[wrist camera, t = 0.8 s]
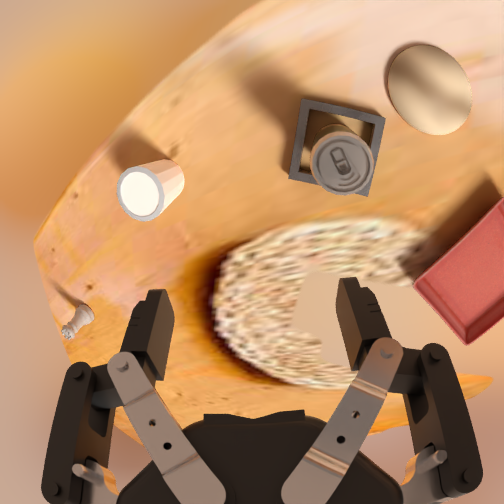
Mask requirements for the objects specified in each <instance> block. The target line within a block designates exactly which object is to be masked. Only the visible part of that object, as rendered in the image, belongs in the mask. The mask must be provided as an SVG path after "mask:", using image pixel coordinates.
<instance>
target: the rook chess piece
mask: <svg viewBox="0 0 504 504" xmlns="http://www.w3.org/2000/svg"><path fill="white" fill-rule="evenodd" d="M93 320H94V313H93V311H92V310H91V309H90V308H89V307H88V306H87V305H84V304H80V305H79V307H78V308H76V312H75V315H74V317H73V318H72V320H71V321H70V322H68V324H67V325H64V326H63V329H62V330H61V332H62V334H63V335H64V334H65V335H66V336H65V338H67V337H68V340H70V339H71V338H74V337H75V333H77V332H78V330H79V329H80V328H81V327H82V326H83V325H86V324H89V323H91V321H93Z"/></svg>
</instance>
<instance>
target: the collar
mask: <svg viewBox="0 0 504 504" xmlns="http://www.w3.org/2000/svg"><path fill="white" fill-rule="evenodd" d="M310 109H313V110H319V111H323V112H328V113H333V114H337V115H342V116H346V117H350V118H354V119H358V120H362V121H366V122H370V123H373V128H372V133H371V137H370V142H369V148H370V150H371V152H372V156H373V160H374V166H373V173H374V169H375V165H376V161H377V157H378V152H379V148H380V143H381V138H382V134H383V129H384V124H385V119H386V118H384V117H380V116H377V115H373V114H369V113H366V112H362V111H358V110H354V109H350V108H345V107H341V106H337V105H332V104H327V103H323V102H318V101H312V100H307V99H301V106H300V112H299V118H298V124H297V130H296V136H295V142H294V148H293V154H292V160H291V166H290V172H289V178H288V179H293V180H298V181H302V182H307V183H312V184H316V185H319V184H318V183H317V181H316V180H315V178H314V177H313V175H312V172H309V171H304V170H299V168H300V163H301V157H302V151H303V146H304V140H305V134H306V128H307V122H308V116H309V110H310ZM373 173H372V175H371V178H370V180H369V182H368V183H367V184H366V185H365V187H364V188H363V189H361V190H359V191H358V192H356V193H355V194H359V195H363V196H367V197H368V193H369V189H370V186H371V182H372V178H373Z"/></svg>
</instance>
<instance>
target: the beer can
mask: <svg viewBox="0 0 504 504" xmlns="http://www.w3.org/2000/svg"><path fill="white" fill-rule="evenodd" d="M373 166H374V160H373V156H372V152H371V150H370V148H369V147H368V145H367V144H366V142H365V141H363V140H362V139H361V138H360V137H359V136H358V135H357V134H355V133H354V132H353V131H352V130H351V129H349V128H348V127H346V126H344V125H341V124H331V125H327V126H325V127H323V128H322V129H320V130H319V132H318V133H317V134H316V136H315V139H314V142H313V146H312V150H311V155H310V168H311V172H312V175H313V177H314V178H315V180H316V181H317V183H318V184H319V185H320V186H322V187H323V188H324V189H325V190H327V191H329V192H331V193H334V194H336V195H349V194H354V193H356V192H358V191H359V190H361V189H363V188H364V187H365V185H366V184H367V183H368V182H369V180H370V178H371V175H372V173H373Z"/></svg>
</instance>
